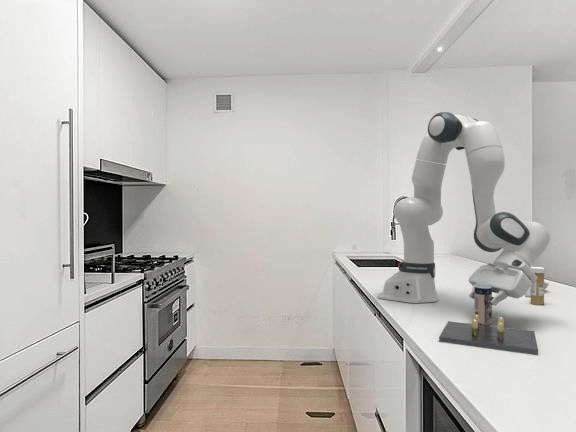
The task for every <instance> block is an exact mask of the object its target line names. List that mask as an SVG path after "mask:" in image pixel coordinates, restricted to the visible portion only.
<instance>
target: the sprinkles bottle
mask: <svg viewBox="0 0 576 432" xmlns="http://www.w3.org/2000/svg"><path fill="white" fill-rule="evenodd" d="M530 269H531V270H532V271H533V272H534V273H535V275H536V276H537V280H536V281H535V282H532V285H531V287H530V294H531V297H530V302H529V303H530V304H531V305H535V306H545V290H544V282H545V272H546V271H545V268H544V267H542V266H531V267H530Z"/></svg>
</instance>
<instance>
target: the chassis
mask: <svg viewBox="0 0 576 432" xmlns="http://www.w3.org/2000/svg"><path fill="white" fill-rule="evenodd" d="M496 323H497V326H492V325H480V324H479V315H477V314H473V318H472V319H471V323H467V322H458V321H449V320H447V322H446V324H445V326H444V328H443V330H442V331H441V333H440V335H439V338H438V339H439V341H438V342H440V343H441V342H442V343H449V344H455V345H464V346H469V347H470V346H471V347H476V348H485V349H492V350H498V351H505V350H506V351H507V352H514V353H519V354H520V353H521V354H527V355H528V354H529V355H535V356H536V355H538V356H539V347H538V342H537V338H536V333H535V330H530V329H529V330H528V329H522V328H521V329H520V328H511V327H505V318H504V317H502V316H498V317H497V322H496Z"/></svg>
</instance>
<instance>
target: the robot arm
mask: <svg viewBox="0 0 576 432" xmlns="http://www.w3.org/2000/svg"><path fill="white" fill-rule="evenodd" d="M494 126H495V125H493V124H492V123H491V122H490V121H486V120H477V119H476V118H472V117H469V116H467V115H464V114H458V113H453V112H449V111H447V112H446V111H442V112H437V113H435V114H434V115H433V116H432V117H431V118H430V119H429V121H428V125H427V134H425V135H424V136H423V139H422V141H421V143H420V145H419V149H418V151H417V154H416V159H415V162H414V167H413V171H412V177H411V182H412V184H413V196H409V197H406V198H403V199H401V200H399V201H398V202H397V203H396V204H395V206H394V208H393V215H394V218H395V220H396V221H397V223H398V225H399V227H400V231H401V234H402V240H403V260H402V261H400V262H399V263H398V271H397V272H396V273H394V274H393V275H392V276H390V277H389V278H387V279H386V280H385V282H384V284H383V285H384V286H383V291H380V292H378V293H377V298H378V299H381V300H387V301H396V302H401V303H402V302H404V303H408V304H409V303H410V304H421V303H434V302H438V301H439V298H438V294H437V289H436V282H435V281H436V280H435V278H436V263H435V242H434V240H433V239H432V236H431V233H430V228H429V226H432V225H435V224H437V222H439V221H440V220H441V219H442V217H443V214H444V210H443V206H442V186H443V185H442V184H443V179H444V175H445V171H446V167H447V163H448V157H449V155H450V153H451V151H452V150H454V149H456V150H457V151H462V150H464V152H465V158H466V162H467V166H468V171H469V176H470V183H471V184H470V185H471V193H472V201H473V202H472V203H473V206H474V207H473V209H474V216H475V227H474V230H473V240H474V243H475V244H476V245H477V247H478V248H479V249H481V250H482V251H484V252H487V253H496V252H499V251H501V250H502V251H501V253H500V254H499V255H498V256H497V257H496V258H495V260H493V263H487V264H484V265H481V266H479V267H478V268H477V269H476V270H474V272H473V273H472V274H471V275H470V276H469V277H468V282H469V283H470V285H471V286H472V288H471V291H470V293H469V295H468V296H469V298H470V299H472V300H475V285H476V283H488V284H491V287H492V293H494V294H496V295H495V296H492V297H491V299H490V300H489V302H490V303H491V304H492V306H497V305H498V304H499V303H500V302H502V301H504V300H505V299H507V298H508V297H509V298H513V299H520V298H522V297H523V296H525V293H526V292H527V291H528V289H529V288H530V287H531V285H532V282H535V281H536V280H537V276H536V275H535V273H534V272H533V271H532V270H531V269H530V268H531V267H532V264H533V263H534V262H535V261H538V260H539V259H540V257H541V256H542V254H543V253H544V252H545V251H546V248H547V247H548V245H549V243H550V240H551V236H550V235H551V234H550V232H549V231H548V229H547V228H546V227H545V226H544V225H542V224H541V223H539V222H537V221H528V220H525V219H521V218H519V217H517V216H516V215H514V214H513V213H510V212H508V211H506V212H505V211H502V212H501V211H500V212H497V211H496V206H495V199H494V194H495V193H494V192H495V190H496V189H495V188H496V186H497V184H498V182H499V180H500V178H501V176H502V175H503V173H504V170H505V165H506V163H505V162H506V161H505V160H506V159H505V154H504V149H503V146H502V142H501V139H500V136H499V134H498V133H497V130H496V128H495V127H494Z"/></svg>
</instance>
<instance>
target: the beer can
mask: <svg viewBox="0 0 576 432" xmlns="http://www.w3.org/2000/svg"><path fill="white" fill-rule="evenodd" d="M491 297H493V292H492V287H491V284H488V283H476V285H475V299H474V309H473V310H474V311H473V312H474V314H477V315H479V325H480V324H481V325H486V326H490V325H491V324H492V323H493V322H492V321H493V320H492V319H493V315H492V314H493V313H492V312H493V311H492V310H493V309H492V308H493V305H492V304H491V303H490V302H489V300H490V299H491ZM474 314H473V315H474Z"/></svg>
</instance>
